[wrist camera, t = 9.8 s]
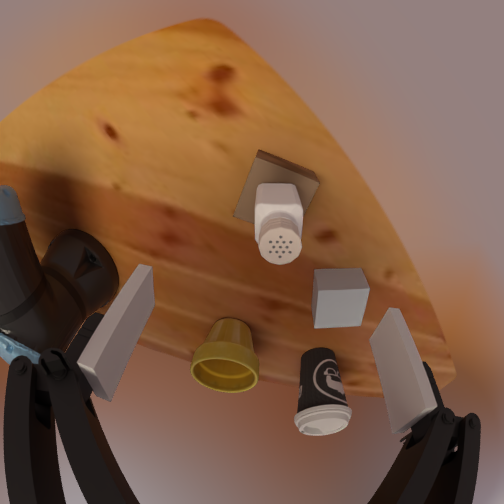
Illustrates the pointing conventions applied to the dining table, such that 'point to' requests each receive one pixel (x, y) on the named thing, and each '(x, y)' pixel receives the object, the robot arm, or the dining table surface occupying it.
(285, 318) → the dining table surface
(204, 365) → the plant pot
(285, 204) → the pepper shaker
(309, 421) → the coffee cup
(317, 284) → the grey-blue block
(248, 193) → the walnut block
